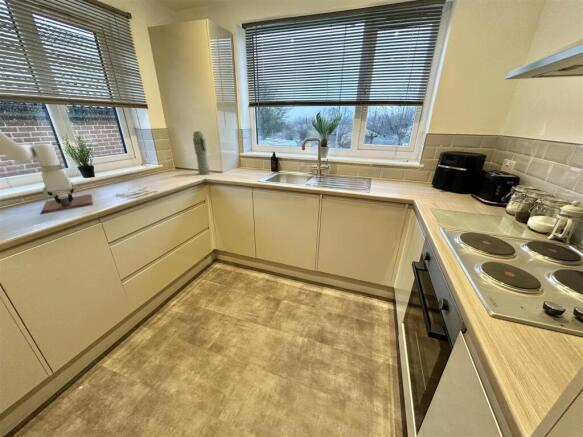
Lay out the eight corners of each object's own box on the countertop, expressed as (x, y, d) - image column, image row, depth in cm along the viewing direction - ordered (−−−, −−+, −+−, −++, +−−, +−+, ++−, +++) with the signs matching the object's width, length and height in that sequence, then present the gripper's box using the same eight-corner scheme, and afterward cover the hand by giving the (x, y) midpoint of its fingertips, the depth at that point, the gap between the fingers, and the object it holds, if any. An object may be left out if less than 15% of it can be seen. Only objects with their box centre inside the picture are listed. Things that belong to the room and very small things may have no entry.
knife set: (107, 194, 153) (107, 193, 153) (158, 182, 181) (158, 181, 181) (129, 200, 141) (129, 198, 141) (180, 186, 169) (180, 184, 169)
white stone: (61, 203, 133) (58, 196, 132) (62, 201, 136) (59, 194, 135) (72, 201, 136) (69, 195, 134) (72, 200, 139) (70, 193, 137)
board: (39, 214, 122) (37, 211, 122) (44, 204, 138) (43, 201, 138) (92, 204, 135) (91, 202, 134) (91, 196, 151) (91, 193, 150)
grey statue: (206, 175, 204) (199, 131, 190) (195, 174, 208) (188, 131, 194) (213, 173, 211) (207, 131, 198) (202, 172, 215) (195, 131, 202)
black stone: (61, 206, 128) (58, 199, 127) (61, 204, 131) (58, 197, 130) (71, 204, 131) (69, 197, 129) (71, 202, 134) (69, 195, 132)
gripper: (73, 165, 131) (85, 197, 138) (30, 170, 121) (45, 204, 128) (73, 167, 126) (85, 200, 133) (27, 172, 116) (43, 207, 123)
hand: (65, 201), depth 130 cm, fingers closed on black stone, 4 cm apart
